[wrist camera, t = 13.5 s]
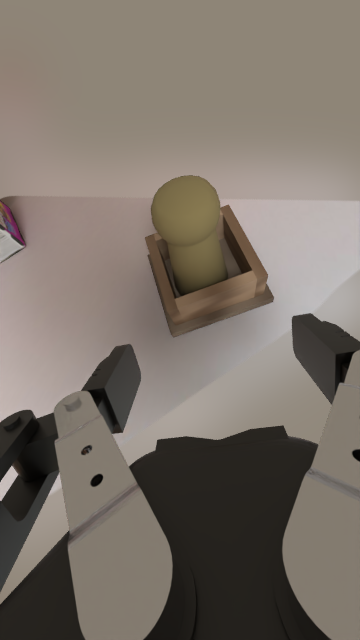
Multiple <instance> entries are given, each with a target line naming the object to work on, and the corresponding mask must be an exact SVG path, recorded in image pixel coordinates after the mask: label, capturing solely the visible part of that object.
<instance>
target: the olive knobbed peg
mask: <svg viewBox="0 0 360 640" xmlns="http://www.w3.org/2000/svg"><path fill="white" fill-rule="evenodd" d="M151 215H152V221H153V224H154V227H155V229H156V230H157V232H158V233H159V235H160V236H161V237H162V238H163V239H164V240H165V241H167V245H168V250H169V255H170V261H171V266H172V272H173V277H174V282H175V288H176V289H177V291H178V293H179V294H180V295H181V296H184V295H187V294H190V293H192V292H195V291H198V290H201V289H203V288H206V287H209V286H211V285H214V284H217V283H220V282H222V281H225V280H228V271H227V267H226V264H225V260H224V257H223V253H222V250H221V246H220V242H219V239H218V235H217V232H216V226H217V225H218V222H219V217H220V201H219V198H218V195H217V192H216V190H215V188H214V187H213V186H212V185H211V184H210V183H209V182H208V181H207V180H205V179H203V178H201V177H199V176H192V175H189V176H181V177H178V178H175V179H172V180H170V181H168V182H167V183H165V184H164V185H163V186H162V187H161V188H159V189H158V191H157V193H156V194H155V196H154V199H153V203H152V206H151Z"/></svg>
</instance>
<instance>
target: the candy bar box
mask: <svg viewBox="0 0 360 640" xmlns="http://www.w3.org/2000/svg"><path fill="white" fill-rule="evenodd" d="M24 247H26V245H25V243H24V241H23V238H22V236H21V234H20V232H19V229H18V227H17V225H16V222H15V220H14V218H13V215H12V213H11V211H10V208H9V207H7V206H6V205H5V204H4V203H3V202H2V201H1V200H0V262H3V261H5V260H7V259H8V258H9V257H11V256H12V255H14V254H15V253H17V252H18V251H20V250H21V249H23V248H24Z"/></svg>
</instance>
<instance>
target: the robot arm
mask: <svg viewBox="0 0 360 640" xmlns="http://www.w3.org/2000/svg"><path fill="white" fill-rule="evenodd" d="M292 335H293V349H294V353H295V356H296V358H297V359H298V360H299V362H300V363H301V365H302V366H303V367H304V369H305V370H306V371H307V372H308V374H309V375H310V376H311V378H312V379H313V381H314V382H315V383H316V384H317V386H318V387H319V388H320V390H321V391H322V392H323V394H324V395H325V396H326V398H327V399H328V400H329V402H330V403H331V404H332V407H331V409H330V413H329V415H328V418H327V421H326V425H325V427H324V431H323V433H322V436H321V439H320V443H319V445H318V444H316V443H313V442H311V441H307V440H304V439H301V438H296V437H290V436H288V435H287V433H286V431H285V428H284V426H275V427H266V428H257V429H250V430H247V431H244V432H241V433H238V434H236V435H233V436H230V437H227V438H224V439H221V440H213V439H204V438H195V437H187V436H186V437H178V438H168V439H160V440H157V445H156V450H155V451H153V452H151V453H148V454H146V455H144V456H143V457H141V458H139V459H138V460H136V461H135V462H134V463H133V464H131V465H130V466H129V467H128V465H127V463H126V461H125V459H124V457H123V455H122V453H121V451H120V449H119V447H118V445H117V443H116V441H115V439H114V438H113V436H112V434H114V433H123V430H124V427H125V424H126V422H127V419H128V416H129V413H130V410H131V407H132V404H133V401H134V398H135V396H136V393H137V390H138V387H139V384H140V381H141V372H140V368H139V365H138V362H137V359H136V356H135V353H134V350H133V348H132V346H131V345H130V344H128V345H122V346H116V347H115V348H114V349H113V351H112V353H111V354H110V356H109V357H107V358H106V359H104V360H103V361H102V362H101V363H100V364H99V365H98V366H97V368H96V369H95V371H94V372H93V374H92V376H91V377H90V378H89V380H88V381H87V383H86V384H85V386H84V387H83V388H82V390H81V391H79V392H75V393H73V394H70V395H69V396H67V397H65V398H64V399H62V400H61V401H60V402H59V403H58V404H57V405H56V407H55V409H54V413H51V414H48V415H46V416H43V417H40V418H37V419H36V417H35V415H34V414H33V412H32V411H31V410H23V411H19V412H17V413H14V414H12V415H10V416H9V417H7V418H6V419H4V420H3V421H1V422H0V482H1V480H2V478H3V477H4V476H5V474H6V473H7V471H8V470H9V468H10V467H11V466H13V467H14V469H15V470H16V472H17V473H18V476H17V478H16V479H15V481H14V482H13V484H12V485H11V487H10V488H9V490H8V492H7V493H6V495H5V496H4V498H3V499H2V501H0V591H1V590H2V588H3V585H4V584H5V582H6V579H7V577H8V575H9V573H10V571H11V569H12V567H13V565H14V563H15V561H16V559H17V557H18V555H19V553H20V551H21V549H22V547H23V544H24V542H25V541H26V539H27V537H28V535H29V533H30V531H31V529H32V527H33V524H34V523H35V520H36V519H37V517H38V514H39V512H40V510H41V508H42V506H43V504H44V502H45V500H46V498H47V496H48V494H49V492H50V490H51V488H52V486H53V484H54V482H55V480H56V478H57V476H58V474H59V472H60V478H61V483H62V489H63V495H64V500H65V507H66V513H67V519H68V524H69V531H68V532H67V533H66V534H65V535H64V536H63V537H62V539H61V540H60V541H59V542H58V543H57V544H56V545H55V546H54V547H53V548H52V549H51V551H49V553H48V554H47V555H46V556H45V557H44V558H43V559H42V560H41V561H40V562H39V563H38V564H37V566H36V567H35V568H34V569H33V570H32V571H31V572H30V573H29V574H28V575H27V576H26V577H25V578H24V580H23V581H22V582H21V583H20V584H19V585H18V586H17V587H16V588H15V589H14V590H13V592H11V594H10V595H9V596H8V597H7V598H6V599H5V600H4V601H3V602H2V603H1V604H0V640H360V342H359V341H358V340H356V339H355V338H353V337H352V336H350V334H348V333H347V332H344V330H343V329H341V328H340V327H338V326H337V325H335V324H332V323H329V322H326V321H323V322H321V321H320V320H319V319H318V318H316V317H315V316H314V315H312V314H311V313H309V314H303V315H297V316H293V317H292Z"/></svg>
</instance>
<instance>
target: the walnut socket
mask: <svg viewBox="0 0 360 640" xmlns="http://www.w3.org/2000/svg"><path fill="white" fill-rule="evenodd" d="M216 232H217V235H218V239H219V242H220V246H221V250H222V253H223V257H224V260H225V264H226V267H227V271H228V280H225V281H222V282H220V283H217V284H214V285H211V286H209V287H206V288H203V289H201V290H198V291H195V292H192V293H190V294H187V295H184V296H181V295H180V294H179V293H178V291H177V289H176V288H175V282H174V277H173V272H172V266H171V261H170V255H169V250H168V245H167V241H165V240H164V239H163V238H162V237H161V236H160V235H159V233H155V234H153V235H150V236H148V237H145V239H146V243H147V246H148V249H149V253H150V254H149V255H148V258H149V261H150V265H151V268H152V271H153V275H154V278H155V282H156V285H157V288H158V292H159V295H160V299H161V302H162V305H163V309H164V312H165V315H166V319H167V322H168V326H169V329H170V332H171V335H172V336H173V337H176V336H179V335H181V334H184V333H187V332H190V331H193V330H195V329H198V328H201V327H204V326H207V325H210V324H212V323H215V322H218V321H221V320H224V319H226V318H229V317H232V316H235V315H238V314H240V313H243V312H246V311H249V310H252V309H254V308H257V307H260V306H263V305H266V304H268V303H271V302H273V299H274V297H273V295H272V293H271V291H270V289H269V287H268V286H267V284H266V282H267V278H268V274H267V272H266V270H265V269H264V267H263V265H262V263H261V261H260V260H259V258H258V256H257V254H256V253H255V251H254V249H253V247H252V245H251V244H250V242H249V240H248V238H247V236H246V235H245V233H244V231H243V229H242V228H241V226H240V224H239V222H238V220H237V219H236V217H235V215H234V213H233V211H232V210H231V208H230V206H229V205H226V206H224V207H221V208H220V217H219V222H218V225H217V226H216Z"/></svg>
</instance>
